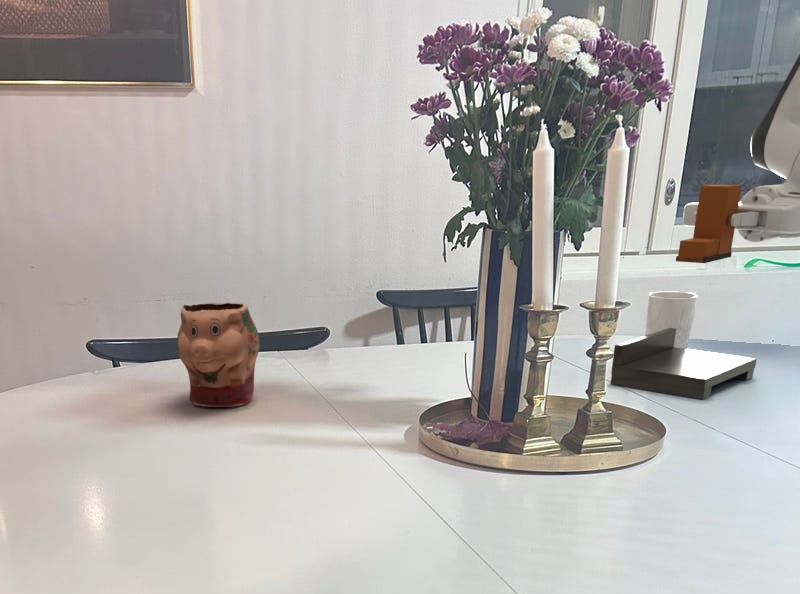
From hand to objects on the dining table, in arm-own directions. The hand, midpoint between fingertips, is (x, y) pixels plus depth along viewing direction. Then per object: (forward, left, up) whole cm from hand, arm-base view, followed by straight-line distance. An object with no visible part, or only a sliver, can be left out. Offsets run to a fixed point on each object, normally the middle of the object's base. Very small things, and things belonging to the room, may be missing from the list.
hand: (712, 219), depth 155 cm
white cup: (+3, +4, -22) cm, 22 cm away
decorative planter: (+40, +74, -22) cm, 87 cm away
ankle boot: (0, +2, -6) cm, 6 cm away
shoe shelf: (-8, +20, -22) cm, 31 cm away
